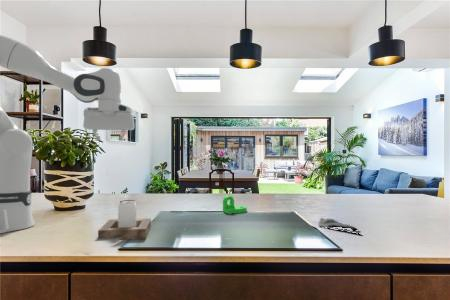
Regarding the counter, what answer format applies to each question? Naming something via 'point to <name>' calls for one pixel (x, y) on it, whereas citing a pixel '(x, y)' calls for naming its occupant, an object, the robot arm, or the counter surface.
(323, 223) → the cloth
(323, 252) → the counter surface
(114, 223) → the socket block
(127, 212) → the can
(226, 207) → the mechanical part
